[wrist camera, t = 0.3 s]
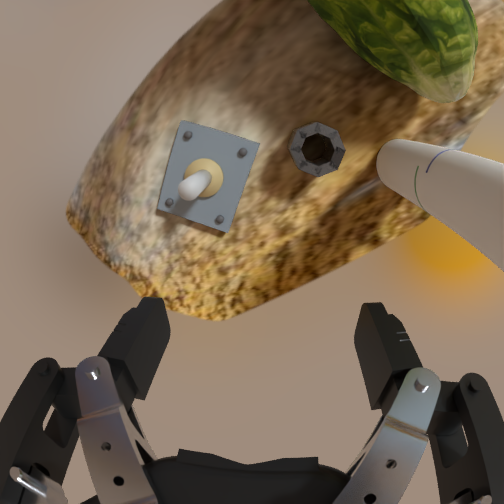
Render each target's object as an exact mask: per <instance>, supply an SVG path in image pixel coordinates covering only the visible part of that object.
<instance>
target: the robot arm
mask: <svg viewBox="0 0 504 504" xmlns="http://www.w3.org/2000/svg"><path fill="white" fill-rule="evenodd" d="M169 339H170V325H169V321H168V317H167V313H166V308H165V304H164V301H163V299H162V298H156V297H143V299H142V300H141V302H140V303H139V305H138V306H137V308H132V309H130V310H129V311H128V312H126V313H125V314H124V315H123V316H122V318H121V319H120V321H119V322H118V325H117V326H116V327H115V329H114V332H112V333H111V335H110V336H109V338H108V339H107V341H106V343H105V344H104V346H103V347H102V349H101V351H100V352H99V354H98V355H97V356H93V357H89V358H86V359H84V360H83V361H82V362H80V363H79V365H78V366H77V367H76V368H60V366H59V365H58V363H57V361H56V360H55V359H53V358H43V359H41V360H39V361H37V362H36V363H35V364H34V365H33V366H32V368H31V370H30V371H29V373H28V374H27V376H26V378H25V379H24V381H23V382H22V384H21V386H20V387H19V389H18V391H17V393H16V394H15V396H14V398H13V400H12V401H11V403H10V405H9V407H8V409H7V410H6V412H5V414H4V416H3V418H2V420H1V422H0V504H68V500H67V498H66V497H65V495H64V491H63V489H62V487H61V486H62V483H63V480H64V477H65V474H66V471H67V468H68V465H69V462H70V460H71V457H72V454H73V451H74V449H75V446H76V443H77V440H78V438H79V435H80V439H81V444H82V448H83V451H84V455H85V459H86V462H87V465H88V469H89V472H90V475H91V478H92V481H93V484H94V487H95V490H96V492H97V495H95V496H93V497H92V498H90V499H88V500H86V501H84V502H82V503H80V504H398V502H399V501H400V499H401V497H402V495H403V494H404V492H405V490H406V488H407V486H408V484H409V482H410V480H411V478H412V476H413V474H414V472H415V470H416V468H417V466H418V464H419V461H420V459H421V457H422V455H423V452H424V450H425V447H426V445H427V442H428V438H429V440H430V444H431V449H432V454H433V459H434V464H435V469H436V476H437V481H438V488H439V495H440V503H441V504H504V422H503V419H502V416H501V413H500V411H499V408H498V406H497V404H496V401H495V399H494V397H493V394H492V392H491V390H490V387H489V386H488V383H487V382H486V380H485V379H484V378H483V377H482V376H480V375H479V374H476V373H467V374H466V375H464V376H463V377H462V378H461V380H460V381H459V382H446V381H440V380H439V377H438V376H437V375H436V374H435V373H434V372H433V371H431V370H429V369H427V368H423V366H422V364H421V362H420V359H419V357H418V355H417V353H416V351H415V349H414V347H413V345H412V343H411V341H410V338H409V336H408V334H407V333H406V330H405V328H404V326H403V324H402V322H401V321H400V320H399V319H398V318H396V317H395V316H394V315H393V314H388V313H387V311H386V310H385V307H384V305H383V304H382V303H381V302H379V303H378V302H377V303H364V304H363V305H362V307H361V311H360V315H359V318H358V322H357V326H356V330H355V335H354V344H355V348H356V352H357V355H358V359H359V363H360V366H361V370H362V374H363V378H364V381H365V385H366V389H367V393H368V397H369V402H370V406H371V410H375V409H381V410H382V414H383V415H382V416H381V418H380V420H379V421H378V423H377V425H376V427H375V428H374V430H373V432H372V433H371V435H370V437H369V439H368V440H367V442H366V443H365V445H364V447H363V448H362V450H361V452H360V453H359V454H358V456H357V457H356V459H355V460H354V461H353V463H352V464H351V465H350V467H349V468H348V469H347V471H346V472H345V473H344V472H342V471H340V470H338V469H335V468H332V467H329V466H325V465H320V464H318V457H306V458H282V459H277V460H272V461H268V462H262V463H256V464H249V465H247V464H242V463H238V462H235V461H232V460H229V459H226V458H222V457H220V456H217V455H214V454H210V453H202V452H195V451H189V450H184V449H179V452H178V455H177V456H171V457H165V458H161V459H157V457H156V455H155V453H154V452H153V450H152V449H151V447H150V445H149V443H148V441H147V439H146V437H145V434H144V432H143V430H142V427H141V425H140V423H139V420H138V418H137V415H136V412H135V410H134V407H133V405H132V403H133V401H134V398H136V399H141V400H145V398H146V395H147V393H148V390H149V388H150V385H151V383H152V380H153V378H154V375H155V373H156V371H157V368H158V366H159V363H160V361H161V358H162V356H163V353H164V351H165V349H166V346H167V344H168V342H169ZM51 405H52V406H53V407H54V408H55V409H54V411H53V413H52V415H51V417H50V419H49V422H48V424H47V426H46V428H45V430H44V431H43V421H44V419H45V417H46V415H47V413H48V411H49V409H50V406H51ZM462 425H463V427H464V431H465V434H466V437H467V441H468V446H467V443H466V439H465V436H464V432H463V429H462ZM426 434H428V435H426Z"/></svg>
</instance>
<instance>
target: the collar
mask: <svg viewBox="0 0 504 504" xmlns="http://www.w3.org/2000/svg"><path fill="white" fill-rule="evenodd" d="M313 134H317V135H319V136H322V138H323V141H324V143H325V145H326V148H325V151H324V153H323V156H322V157H320V158H318V159H315V160H313V161H311V160H308V159H306V158H305V157H304V155H303V153H302V151H301V148H302V146H303V143H304V141H305V138H306V137H308V136H311V135H313ZM287 148H288V150H289V152H290V154H291V156H292V159H293V161H294V163H295V165H296V166H297V168H298V169H299V170H302V171H304V172H307V173H309V174H312V175H314V176H317V177H320V176H323V175H325V174H328V173H330V172H333V171H335V170H338V167H339V165H340V163H341V160H342V158H343V156H344V153H345V151H346V150H345V148H344V145H343V143H342V140H341V138H340V135H339V133H338V131H337V130H335V129H333V128H330V127H328V126H326V125H324V124H321V123H319V122H313V123H309V124H306V125H304V126H301V127H299V128H296V129H294V130H293V133H292V135H291V138H290V140H289V143H288V145H287Z"/></svg>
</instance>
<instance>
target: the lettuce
mask: <svg viewBox="0 0 504 504" xmlns="http://www.w3.org/2000/svg"><path fill="white" fill-rule="evenodd" d="M308 2H309V3H310V4H311V6H312V7H313V8H314V9H315V11H316V12H317V13H318V15H319V16H320V17H321V18H322V19H323V20H324V21H325V22H326V23H328V24H329V25H330V26H331V27H332V28H333V29H334V30H335V31H336V32H337V33H338V34H339V36H340V37H341V38H342V39H343V40H344V41H345V42H346V44H347V45H348V46H349V47H350V48H351V49H353V50H354V51H355V52H356V53H357V54H358V55H359V56H360V57H361V58H363V59H364V60H366V61H367V62H368V63H370V64H371V65H372V66H374V67H375V68H376V69H378V70H379V71H381V72H382V73H384V74H386V75H387V76H389V77H390V78H392V79H394V80H396V81H398V82H400V83H403V84H405V85H406V86H408V87H409V88H411V89H412V90H414V91H415V92H416V93H418V94H419V95H421V96H423V97H425V98H427V99H430V100H433V101H435V102H439V103H450V102H454V101H457V100H459V99H461V98H462V97H464V96H465V95H466V93H467V91H468V89H469V87H470V85H471V82H472V79H473V75H474V65H475V55H476V51H477V46H478V31H477V24H476V21H475V17H474V14H473V11H472V9H471V7H470V4H469V2H468V0H308Z"/></svg>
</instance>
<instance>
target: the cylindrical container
mask: <svg viewBox="0 0 504 504" xmlns="http://www.w3.org/2000/svg"><path fill="white" fill-rule="evenodd" d="M376 167H377V172H378V175H379V177H380V179H381V181H382V182H383V183H384V184H385V185H386V186H387V187H388V188H390V189H392V190H393V191H395V192H397V193H398V194H400V195H402V196H403V197H405V198H406V199H408V200H409V201H411V202H413V203H414V204H416V205H417V206H419V207H420V208H422V209H423V210H425V211H426V212H428V213H429V214H431V215H432V216H434V217H435V218H437V219H438V220H439V221H441V222H442V223H444V224H445V225H446V226H448V227H449V228H451V229H452V230H453V231H455V232H456V233H457V234H459V235H460V236H461V237H463V238H464V239H465V240H467V241H468V242H469V243H471V244H472V245H473V246H474V247H475V248H477V249H478V250H479V251H480V252H481V253H483V254H484V255H485V256H486V257H488V258H489V259H490V260H491V261H492V262H493V263H495V264H496V265H497V266H498V267H499V268H501V270H503V271H504V164H503V163H500V162H497V161H494V160H491V159H487V158H484V157H480V156H477V155H473V154H470V153H466V152H462V151H458V150H454V149H449V148H445V147H440V146H436V145H431V144H426V143H421V142H415V141H409V140H404V139H394V140H390V141H389V142H387V143H386V144H384V145H383V146H382V148H381V149H380V151H379V153H378V156H377V162H376Z"/></svg>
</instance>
